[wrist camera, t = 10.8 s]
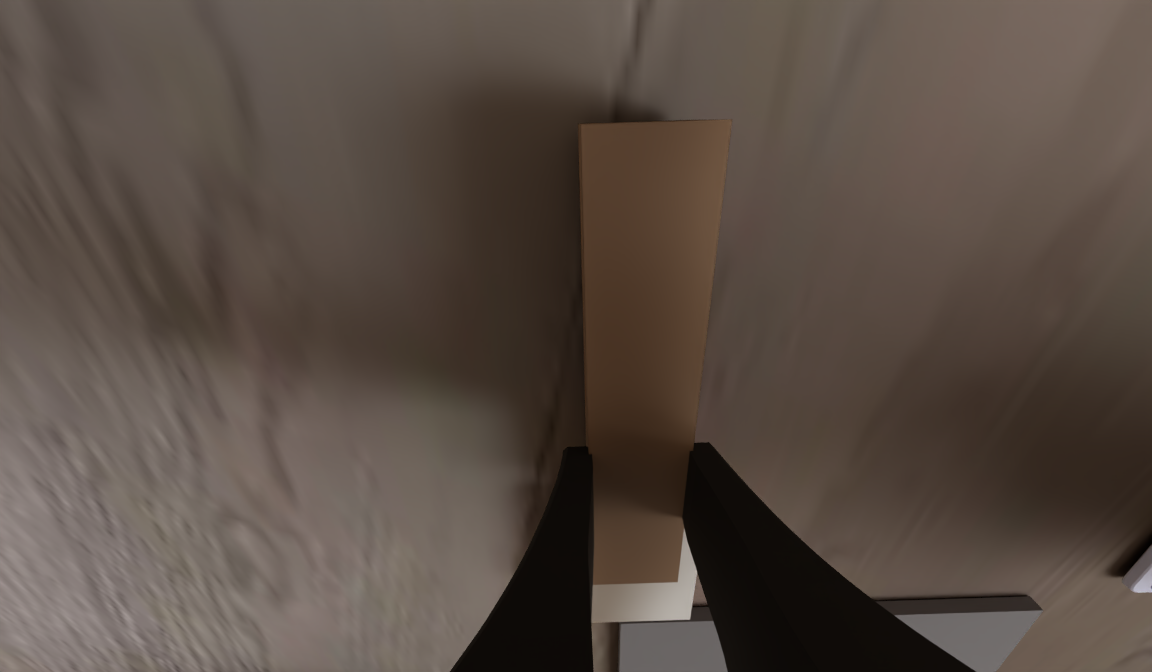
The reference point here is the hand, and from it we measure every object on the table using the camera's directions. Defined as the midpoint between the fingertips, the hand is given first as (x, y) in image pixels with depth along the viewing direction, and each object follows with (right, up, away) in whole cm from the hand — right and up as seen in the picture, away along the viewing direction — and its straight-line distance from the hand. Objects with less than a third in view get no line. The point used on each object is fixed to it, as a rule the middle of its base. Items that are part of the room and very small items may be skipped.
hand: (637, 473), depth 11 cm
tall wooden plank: (0, +1, +2) cm, 3 cm away
